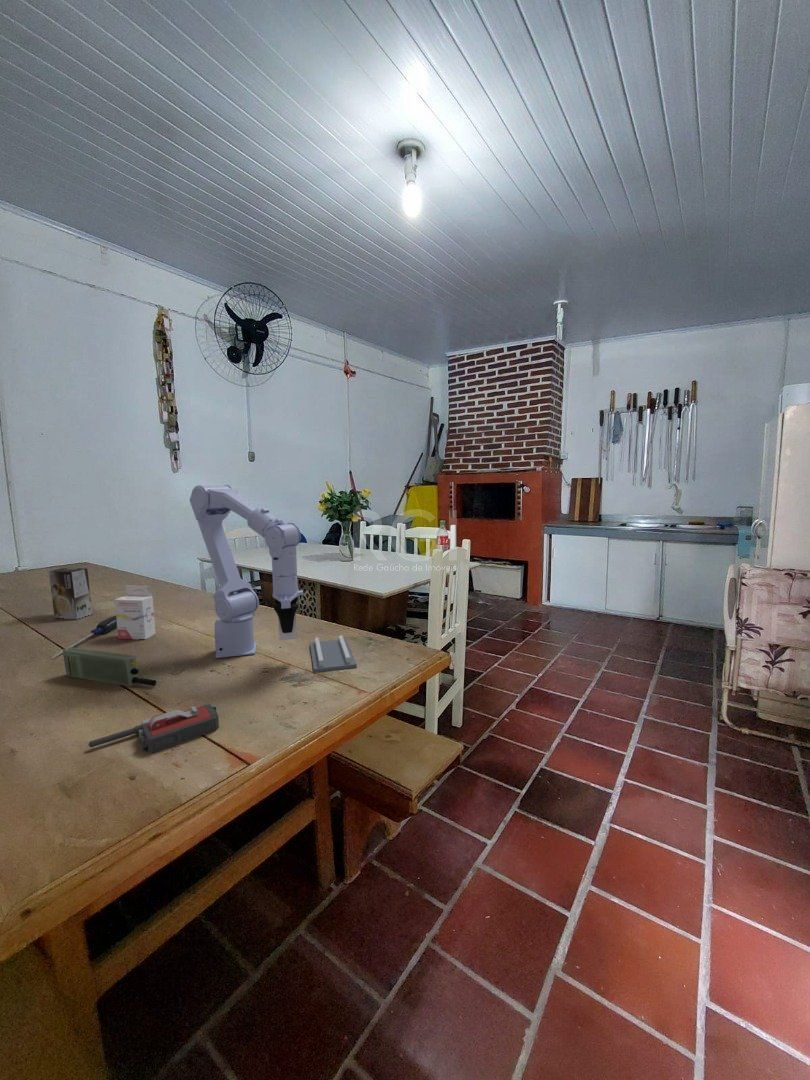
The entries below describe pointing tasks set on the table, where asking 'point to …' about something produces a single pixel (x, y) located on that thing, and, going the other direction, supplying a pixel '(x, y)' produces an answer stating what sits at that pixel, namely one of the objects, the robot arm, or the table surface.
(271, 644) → the table surface
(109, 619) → the screwdriver
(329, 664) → the rail dock
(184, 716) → the walkie-talkie
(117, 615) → the ink cartridge box
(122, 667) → the handheld radio
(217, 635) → the robot arm
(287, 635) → the block
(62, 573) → the coffee box
